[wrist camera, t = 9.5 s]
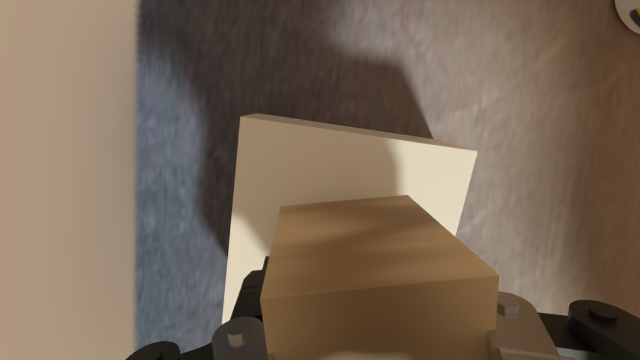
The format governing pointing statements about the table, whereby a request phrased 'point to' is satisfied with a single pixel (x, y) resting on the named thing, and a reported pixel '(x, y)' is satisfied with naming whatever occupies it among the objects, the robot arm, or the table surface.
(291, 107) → the table surface
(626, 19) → the supplement bottle
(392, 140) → the cream base block
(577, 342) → the robot arm
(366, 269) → the oak cube
